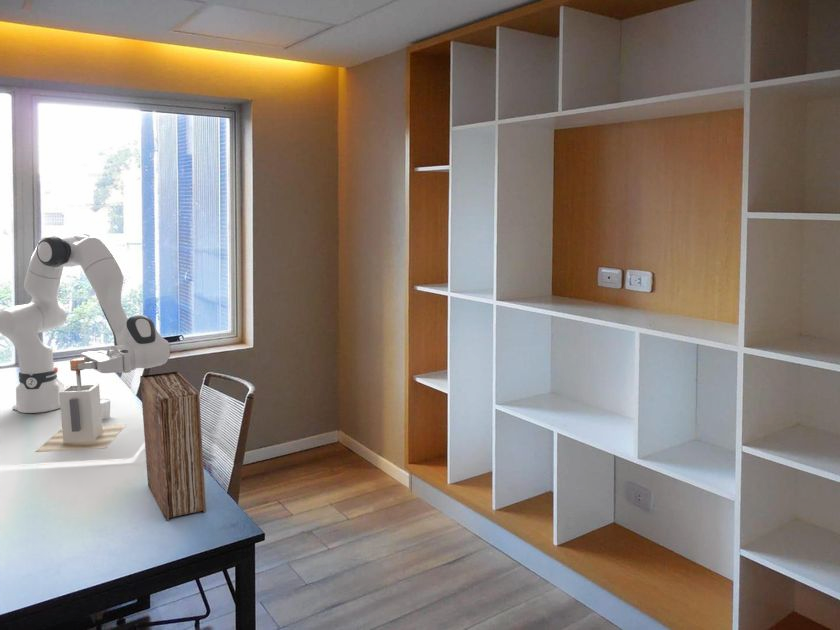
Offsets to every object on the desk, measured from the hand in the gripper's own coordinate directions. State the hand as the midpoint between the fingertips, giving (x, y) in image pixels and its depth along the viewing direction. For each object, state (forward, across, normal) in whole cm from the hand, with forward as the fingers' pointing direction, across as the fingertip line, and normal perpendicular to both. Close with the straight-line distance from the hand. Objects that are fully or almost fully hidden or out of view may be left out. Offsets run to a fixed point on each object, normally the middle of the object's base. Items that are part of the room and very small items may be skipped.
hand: (74, 365), depth 218 cm
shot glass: (-12, -19, +25) cm, 34 cm away
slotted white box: (0, +1, +24) cm, 24 cm away
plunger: (-1, 0, +22) cm, 22 cm away
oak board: (-1, 0, +25) cm, 25 cm away
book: (-3, +64, +25) cm, 68 cm away
